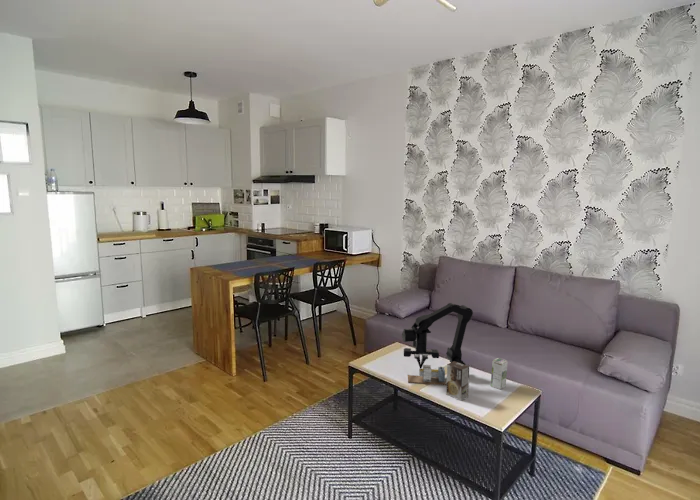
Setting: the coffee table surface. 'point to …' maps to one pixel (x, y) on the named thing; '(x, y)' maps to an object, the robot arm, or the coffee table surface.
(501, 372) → the syrup box
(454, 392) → the coffee box
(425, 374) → the grey slotted block
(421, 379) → the board
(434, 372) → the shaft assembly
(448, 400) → the coffee table surface
